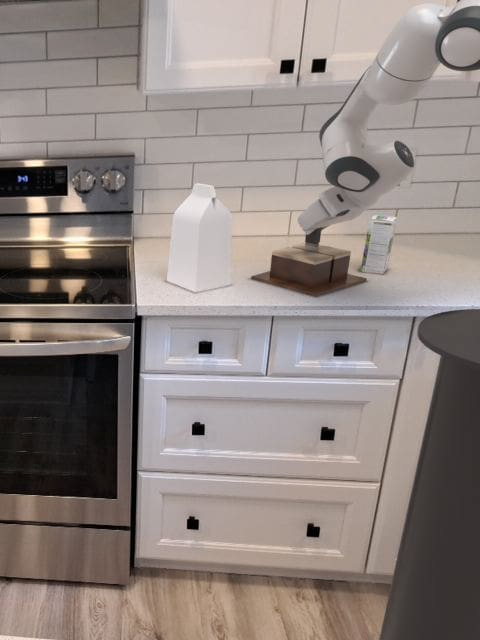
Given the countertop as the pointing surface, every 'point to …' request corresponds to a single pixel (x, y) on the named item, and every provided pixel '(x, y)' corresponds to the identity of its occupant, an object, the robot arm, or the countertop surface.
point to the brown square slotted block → (310, 270)
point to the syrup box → (378, 244)
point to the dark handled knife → (313, 241)
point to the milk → (201, 242)
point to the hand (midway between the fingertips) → (311, 231)
